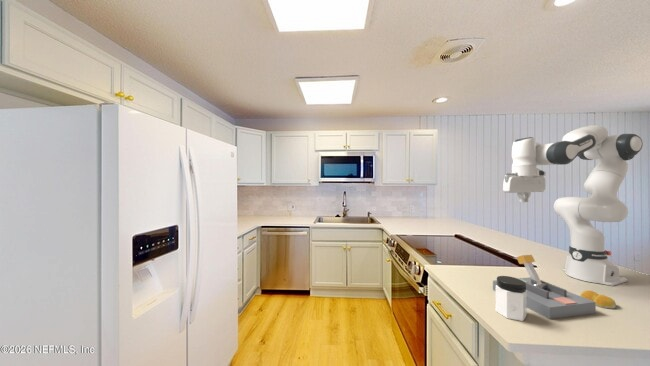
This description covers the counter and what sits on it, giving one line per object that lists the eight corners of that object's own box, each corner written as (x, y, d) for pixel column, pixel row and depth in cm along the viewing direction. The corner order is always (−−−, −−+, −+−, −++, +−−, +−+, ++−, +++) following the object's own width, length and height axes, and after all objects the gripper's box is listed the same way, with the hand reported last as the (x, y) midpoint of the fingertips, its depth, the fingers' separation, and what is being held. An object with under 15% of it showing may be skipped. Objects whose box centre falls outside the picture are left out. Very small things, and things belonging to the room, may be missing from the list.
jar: (499, 317, 81) (499, 282, 81) (492, 305, 89) (492, 274, 89) (531, 323, 78) (532, 287, 78) (521, 310, 86) (521, 277, 86)
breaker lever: (542, 290, 94) (525, 256, 101) (550, 289, 91) (532, 254, 98) (531, 291, 93) (515, 257, 100) (539, 290, 90) (522, 255, 97)
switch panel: (531, 286, 106) (531, 271, 105) (595, 313, 84) (595, 295, 84) (492, 289, 102) (493, 274, 102) (549, 319, 80) (549, 300, 80)
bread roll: (609, 311, 85) (609, 300, 85) (576, 300, 94) (576, 290, 94) (620, 307, 88) (621, 296, 88) (587, 296, 97) (587, 286, 97)
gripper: (511, 172, 105) (512, 203, 105) (548, 172, 109) (548, 202, 109) (498, 173, 111) (499, 202, 111) (534, 172, 115) (534, 200, 115)
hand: (524, 202), depth 110 cm, fingers closed
